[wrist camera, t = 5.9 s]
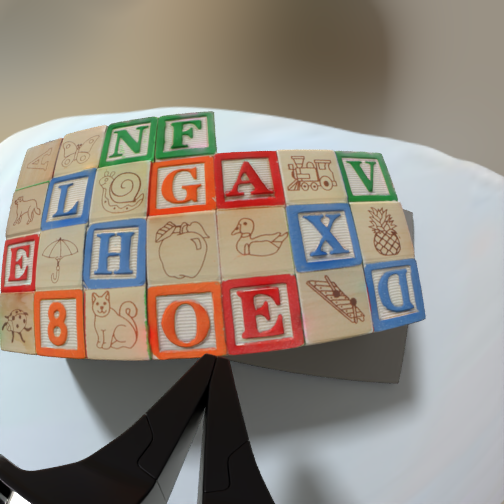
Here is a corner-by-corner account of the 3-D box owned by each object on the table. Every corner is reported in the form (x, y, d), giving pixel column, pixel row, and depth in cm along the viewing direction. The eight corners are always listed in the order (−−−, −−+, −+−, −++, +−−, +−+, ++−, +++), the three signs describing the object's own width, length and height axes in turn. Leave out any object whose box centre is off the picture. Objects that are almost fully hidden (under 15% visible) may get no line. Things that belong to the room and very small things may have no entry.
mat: (394, 382, 16) (398, 383, 16) (61, 304, 16) (57, 303, 16) (409, 214, 20) (412, 212, 20) (121, 150, 20) (119, 146, 20)
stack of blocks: (371, 330, 17) (337, 165, 20) (429, 323, 11) (367, 111, 14) (56, 351, 15) (66, 190, 18) (-4, 349, 9) (27, 145, 13)
